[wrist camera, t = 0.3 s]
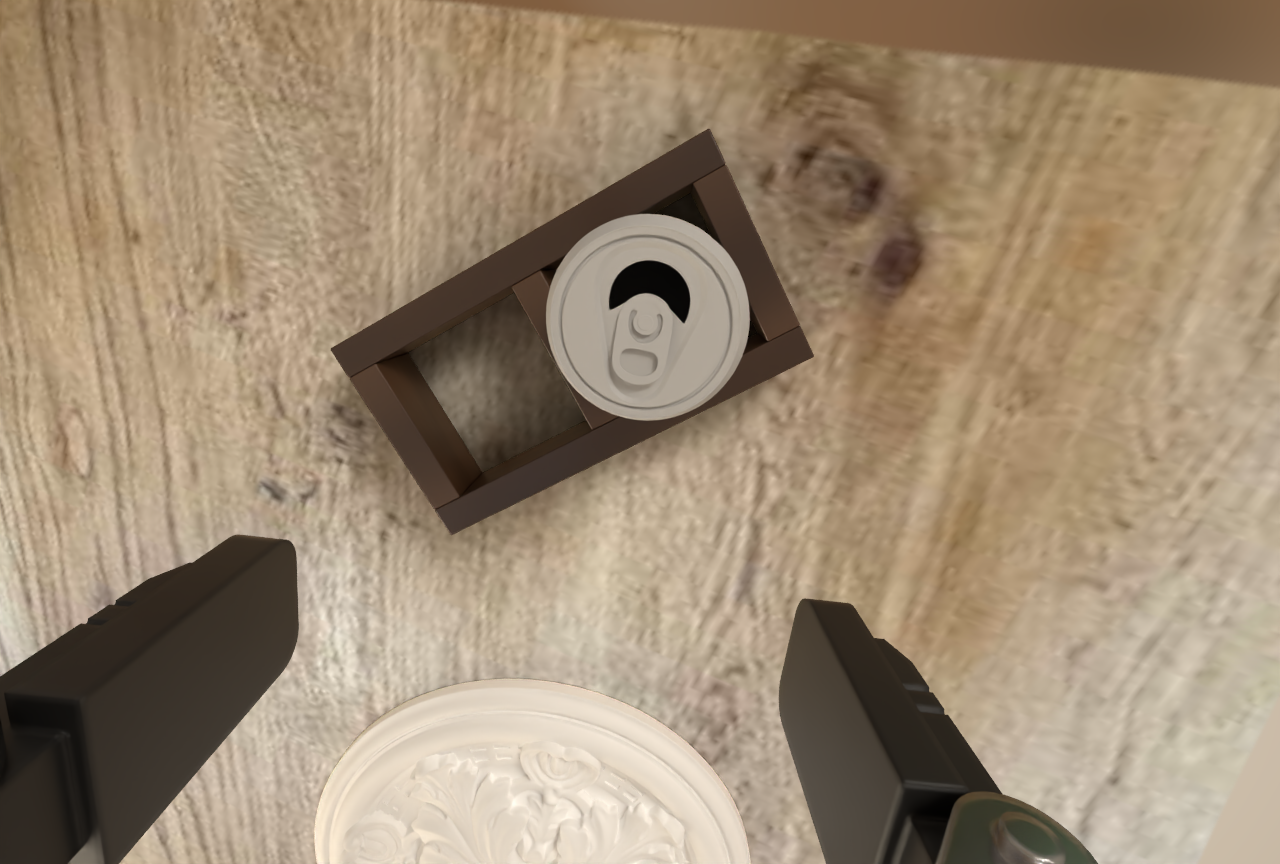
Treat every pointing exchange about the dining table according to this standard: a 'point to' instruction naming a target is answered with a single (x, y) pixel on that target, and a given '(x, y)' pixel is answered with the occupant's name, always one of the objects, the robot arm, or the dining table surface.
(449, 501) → the tray
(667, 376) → the beverage can
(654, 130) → the dining table surface
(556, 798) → the ceiling medallion
